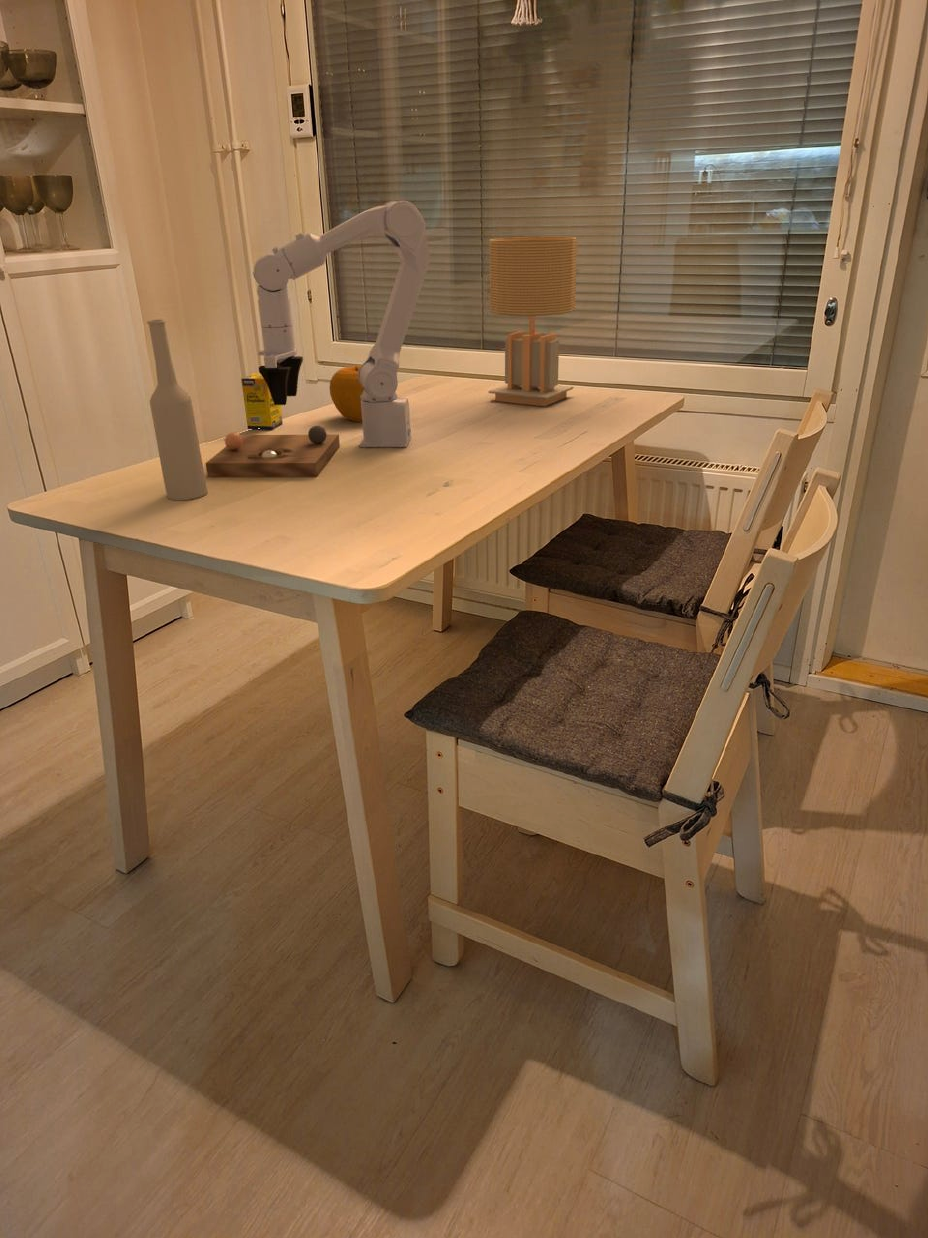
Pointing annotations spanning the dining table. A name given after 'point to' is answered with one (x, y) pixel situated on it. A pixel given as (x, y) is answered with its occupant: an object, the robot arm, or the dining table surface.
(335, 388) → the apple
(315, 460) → the board
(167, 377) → the bottle
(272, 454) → the steel ball
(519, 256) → the desk lamp
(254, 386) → the supplement box
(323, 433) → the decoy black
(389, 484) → the dining table surface
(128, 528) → the dining table surface
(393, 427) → the robot arm
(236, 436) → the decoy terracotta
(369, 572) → the dining table surface
